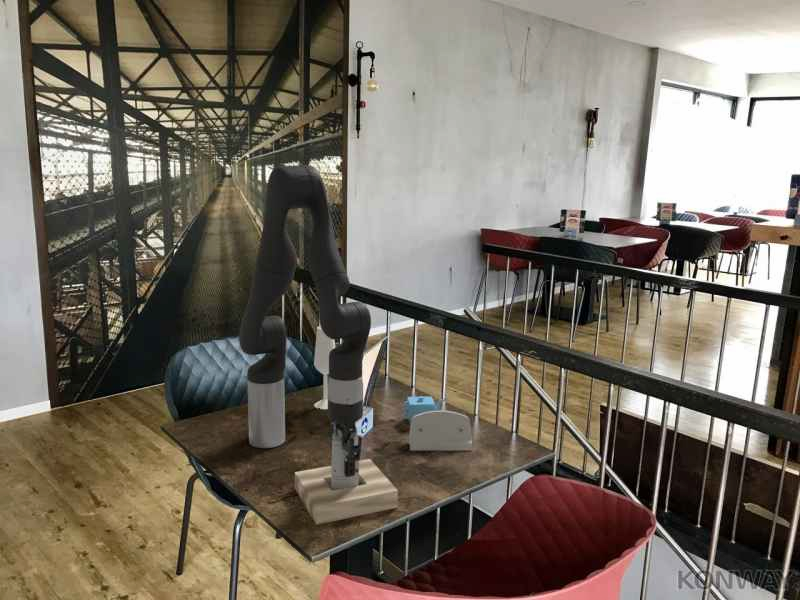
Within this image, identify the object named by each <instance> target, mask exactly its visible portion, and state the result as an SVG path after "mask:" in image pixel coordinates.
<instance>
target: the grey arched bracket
mask: <svg viewBox="0 0 800 600" xmlns="http://www.w3.org/2000/svg"><path fill="white" fill-rule="evenodd" d="M472 439H473V438H472V431H471V422H470V419H469V416H467V415H465V414H462V413H459V412H455V411H452V410H451V411H450V410H440V409H439V410H438V411H428V412H424V413H420V414H417V415H414V416H413V417H412V419H411V423H410V426H409V433H408V440H407V441H408V442H407V443H408V444H409V450H410V451H454V452H455V451H462V452H463V451H464V452H465V451H469V452H470V451H473V440H472Z"/></svg>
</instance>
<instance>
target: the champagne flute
mask: <svg viewBox="0 0 800 600" xmlns="http://www.w3.org/2000/svg"><path fill="white" fill-rule="evenodd" d="M315 337H316V338H315V347H314V348H315V349H314V350H315V351H314V357H313V358H314V359H313V361H314V362H313V365H314V367H315V369H316V370H317V371H318V372H320V374H322V375H323V380H322V381H323V389H322V390H323V391H322V392H323V394H322V395H323V396H322V397H323V398H322V399H321V400H318V401H317V402H316V403H314V404H313V406H314V407H315V408H316V409H319V408H320V410H328V375H329V354H330V351H331V350H332V349H334V348H335V347H336V343H335V342H336V341H335V340H334V339H330V338H329V337H327V336H326V335H325V333H324V332H323V331H322V329H321V326H320V325H319V326H317V328H316V336H315Z"/></svg>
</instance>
